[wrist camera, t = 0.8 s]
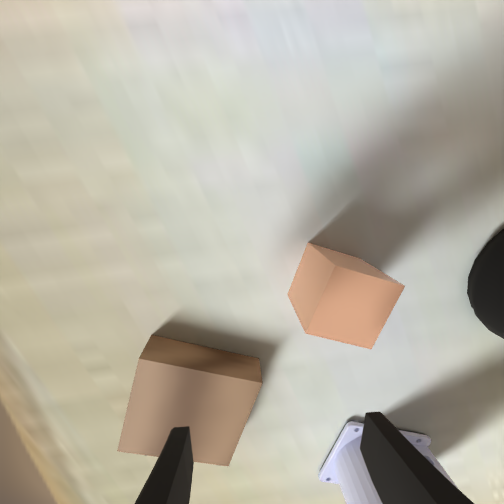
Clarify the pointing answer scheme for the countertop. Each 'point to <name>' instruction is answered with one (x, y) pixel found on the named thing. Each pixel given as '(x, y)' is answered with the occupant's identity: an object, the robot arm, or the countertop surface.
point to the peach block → (342, 296)
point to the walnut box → (190, 399)
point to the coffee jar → (489, 285)
